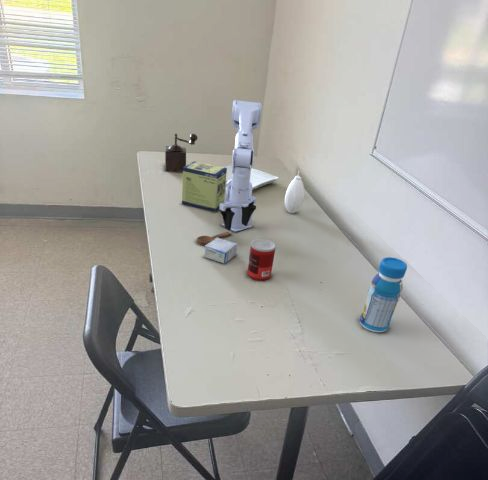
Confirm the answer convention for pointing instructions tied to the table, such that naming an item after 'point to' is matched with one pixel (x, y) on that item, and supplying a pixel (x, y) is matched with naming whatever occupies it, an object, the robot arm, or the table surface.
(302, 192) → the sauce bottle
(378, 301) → the beverage bottle
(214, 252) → the medicine box
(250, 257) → the canned food
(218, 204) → the protein box
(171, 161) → the manual coffee grinder
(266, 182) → the square plate
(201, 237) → the wooden spoon
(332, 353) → the table surface
